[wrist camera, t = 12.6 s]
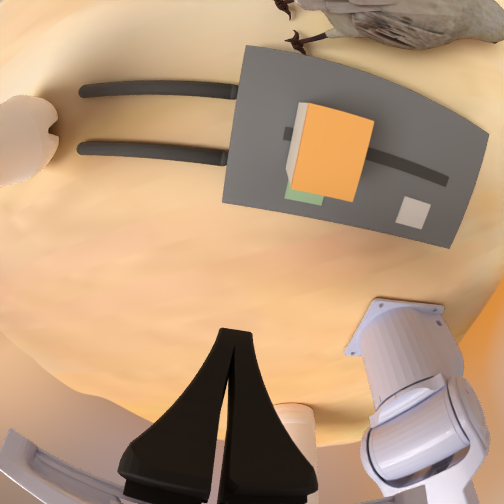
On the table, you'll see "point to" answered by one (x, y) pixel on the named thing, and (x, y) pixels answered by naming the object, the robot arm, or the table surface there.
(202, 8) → the table surface
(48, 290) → the table surface
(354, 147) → the handle
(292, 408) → the bottle
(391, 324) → the robot arm
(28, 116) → the water bottle
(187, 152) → the twin grey rods
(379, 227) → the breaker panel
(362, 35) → the decorative bird
